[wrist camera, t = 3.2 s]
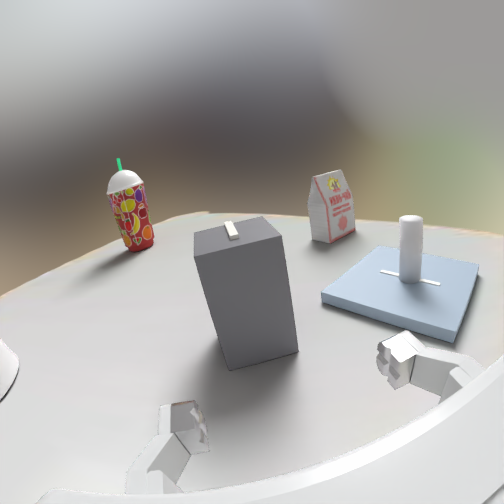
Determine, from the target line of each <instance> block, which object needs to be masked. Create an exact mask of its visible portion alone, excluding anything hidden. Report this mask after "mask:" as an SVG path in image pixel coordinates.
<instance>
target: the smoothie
mask: <svg viewBox="0 0 504 504" xmlns="http://www.w3.org/2000/svg"><path fill="white" fill-rule="evenodd" d="M117 163H118V167H119V172H117V173H116V174H114V175H113V177H112V178H111V179H110V181H109V185H108V191H107V195H108V199H109V202H110V204H111V207H112V210H113V213H114V216H115V219H116V222H117V224H118V227H119V230H120V233H121V235H122V238H123V240H124V243H125V246H126V247H128V248H129V250H130V251H132V252H136V251H141V250H144V249H146V248H148V247H150V246H151V245H152V244H153V243H154V242H153V238H154V233H153V228H152V224H151V220H150V215H149V210H148V205H147V200H146V195H145V190H144V185H143V181H142V180H141V179H140V178H139V176H138V175H137V174H136V173H134V172H132V171H129V170H122V167H121V163H120V159H119V158H118V159H117Z"/></svg>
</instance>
